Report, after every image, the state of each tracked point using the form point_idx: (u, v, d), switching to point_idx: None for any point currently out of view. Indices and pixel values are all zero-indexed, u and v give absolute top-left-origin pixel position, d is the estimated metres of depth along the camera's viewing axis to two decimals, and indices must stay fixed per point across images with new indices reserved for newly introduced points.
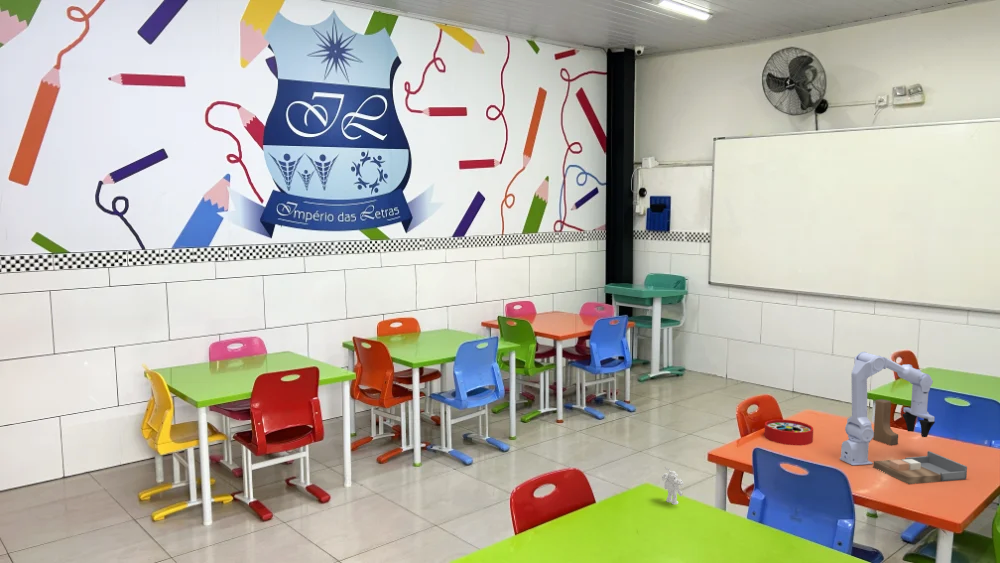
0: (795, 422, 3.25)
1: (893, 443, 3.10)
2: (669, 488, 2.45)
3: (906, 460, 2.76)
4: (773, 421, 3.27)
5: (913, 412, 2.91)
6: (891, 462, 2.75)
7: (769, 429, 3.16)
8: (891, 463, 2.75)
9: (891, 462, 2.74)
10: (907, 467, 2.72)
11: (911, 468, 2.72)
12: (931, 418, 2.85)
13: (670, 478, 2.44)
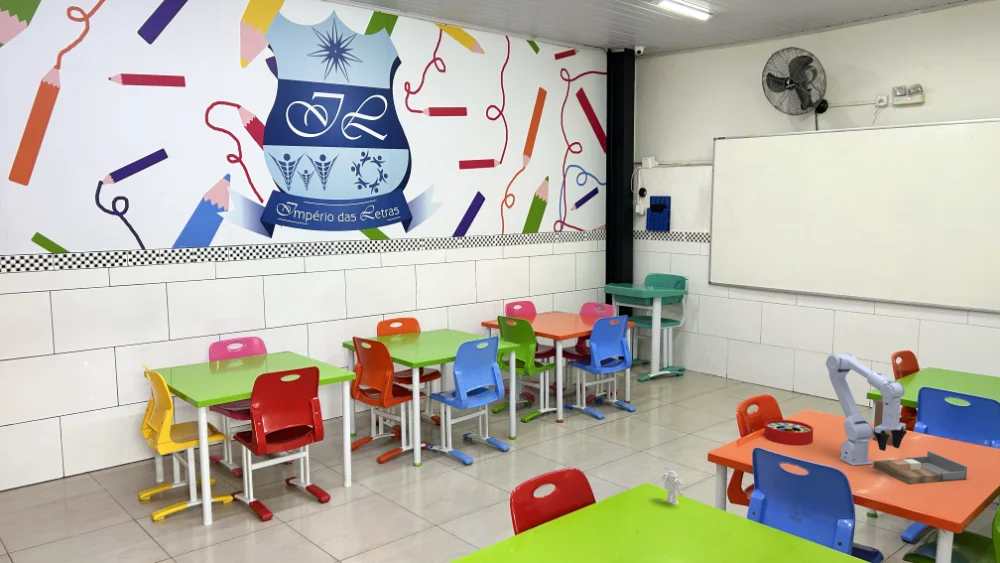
0: (795, 422, 3.25)
1: None
2: (669, 488, 2.45)
3: (906, 460, 2.76)
4: (773, 421, 3.27)
5: None
6: (891, 462, 2.75)
7: (768, 429, 3.16)
8: (891, 463, 2.75)
9: (891, 462, 2.74)
10: (907, 467, 2.72)
11: (911, 468, 2.72)
12: (876, 428, 2.72)
13: (670, 478, 2.44)
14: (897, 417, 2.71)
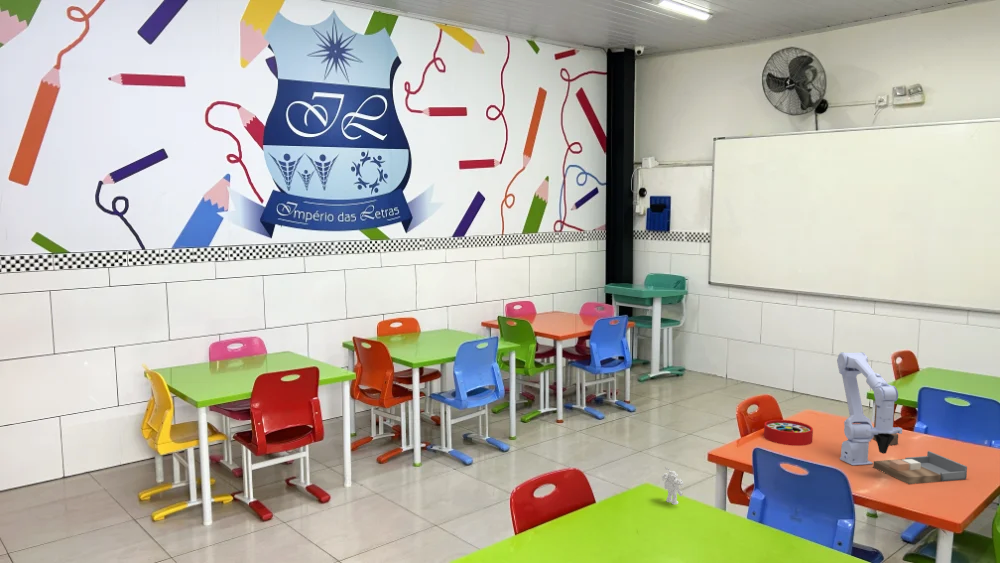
0: (794, 422, 3.25)
1: (893, 443, 3.10)
2: (669, 488, 2.45)
3: (906, 460, 2.76)
4: (772, 421, 3.26)
5: None
6: (891, 462, 2.75)
7: (768, 429, 3.15)
8: (891, 463, 2.75)
9: (891, 462, 2.74)
10: (907, 467, 2.72)
11: (911, 468, 2.72)
12: (866, 431, 2.70)
13: (670, 478, 2.44)
14: (889, 421, 2.68)
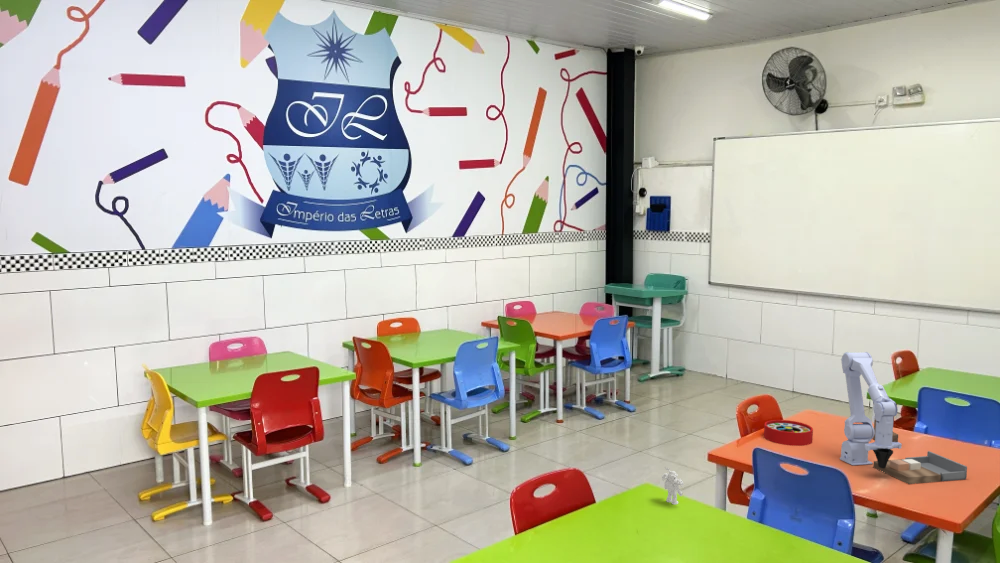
0: (794, 422, 3.25)
1: None
2: (669, 488, 2.45)
3: (906, 460, 2.76)
4: (772, 421, 3.26)
5: None
6: (891, 462, 2.75)
7: (768, 429, 3.15)
8: (891, 463, 2.75)
9: (891, 462, 2.74)
10: (907, 467, 2.72)
11: (911, 468, 2.72)
12: (865, 446, 2.70)
13: (670, 478, 2.44)
14: (889, 436, 2.68)
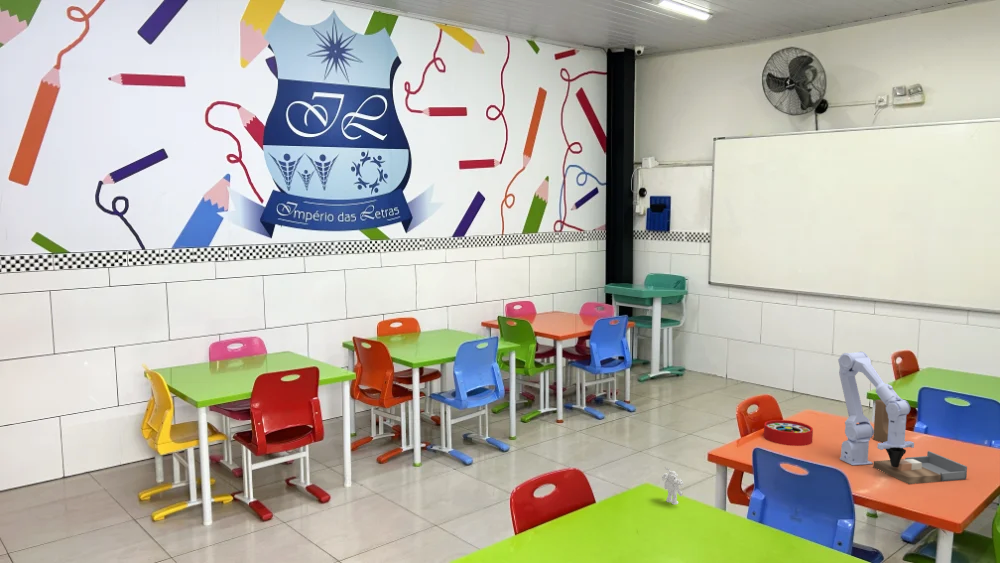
0: (794, 422, 3.25)
1: None
2: (669, 488, 2.45)
3: (907, 460, 2.76)
4: (772, 421, 3.26)
5: None
6: None
7: (768, 429, 3.15)
8: None
9: None
10: (910, 467, 2.72)
11: (912, 468, 2.73)
12: (878, 445, 2.72)
13: (670, 478, 2.44)
14: (901, 435, 2.69)
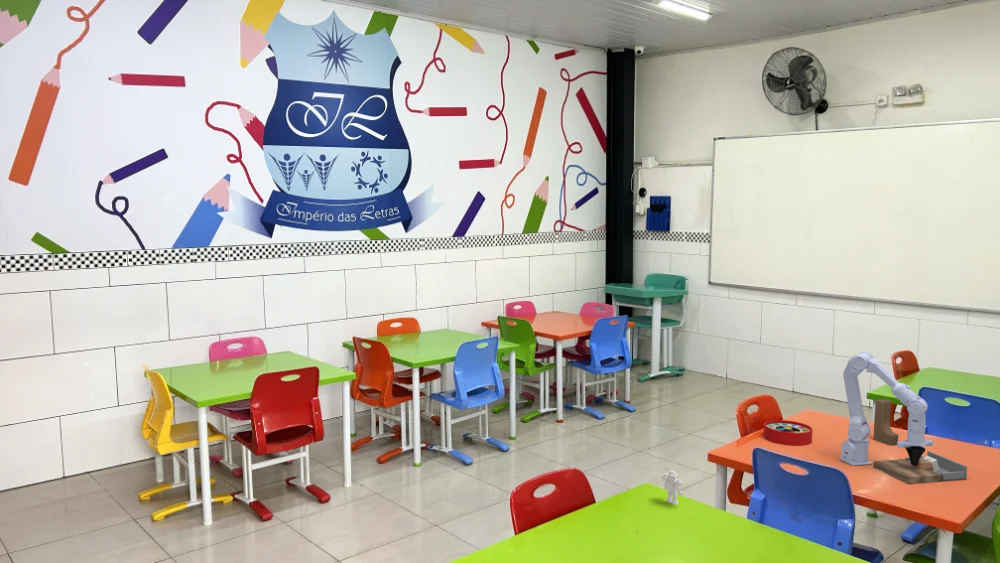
0: (794, 422, 3.25)
1: (893, 443, 3.10)
2: (669, 488, 2.45)
3: None
4: (772, 422, 3.26)
5: None
6: None
7: (768, 429, 3.15)
8: None
9: None
10: (929, 465, 2.74)
11: (932, 462, 2.75)
12: (898, 444, 2.73)
13: (670, 478, 2.44)
14: (921, 434, 2.71)
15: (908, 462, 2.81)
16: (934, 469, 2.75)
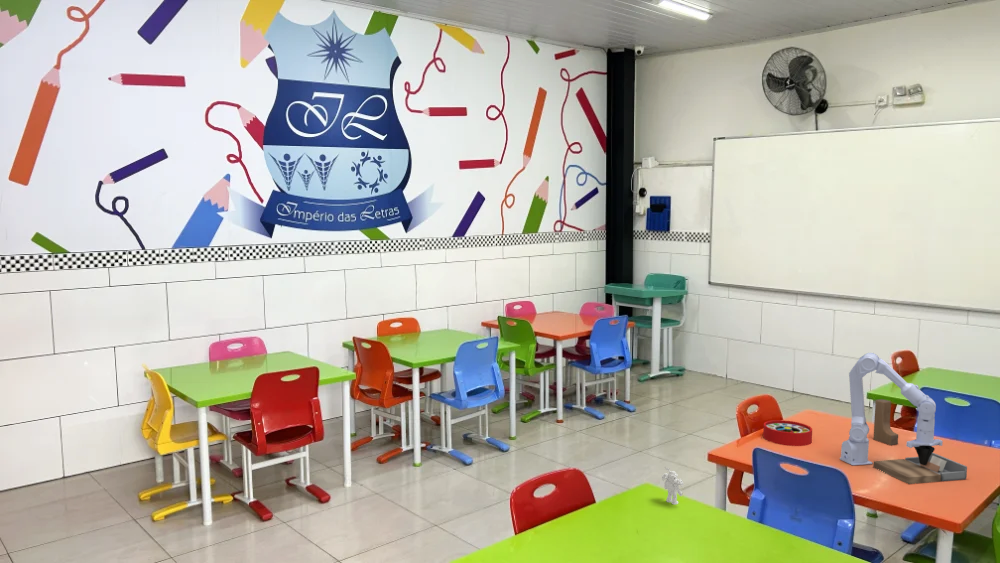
0: (794, 423, 3.24)
1: (893, 443, 3.10)
2: (669, 488, 2.45)
3: None
4: (772, 422, 3.26)
5: None
6: None
7: (768, 429, 3.15)
8: None
9: None
10: (937, 469, 2.75)
11: (942, 460, 2.76)
12: (907, 443, 2.74)
13: (670, 478, 2.44)
14: (930, 433, 2.72)
15: (908, 462, 2.81)
16: None
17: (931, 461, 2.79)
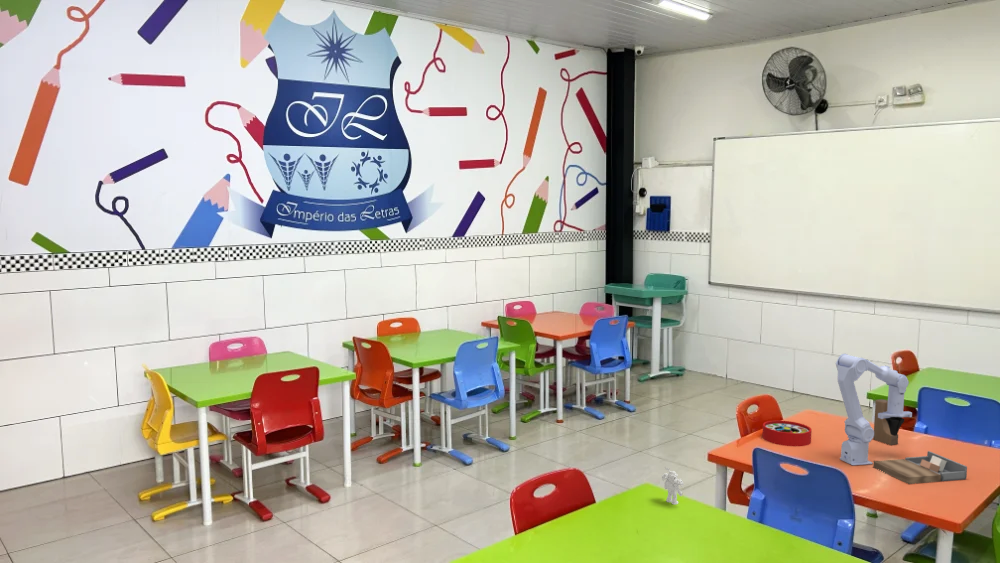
0: (793, 423, 3.24)
1: (893, 443, 3.10)
2: (669, 488, 2.45)
3: None
4: (771, 422, 3.25)
5: None
6: (923, 461, 2.77)
7: (767, 430, 3.14)
8: (923, 461, 2.77)
9: (924, 460, 2.77)
10: (937, 469, 2.75)
11: (942, 460, 2.76)
12: (878, 415, 2.92)
13: (670, 478, 2.44)
14: (900, 405, 2.90)
15: (908, 462, 2.81)
16: None
17: (931, 461, 2.79)
